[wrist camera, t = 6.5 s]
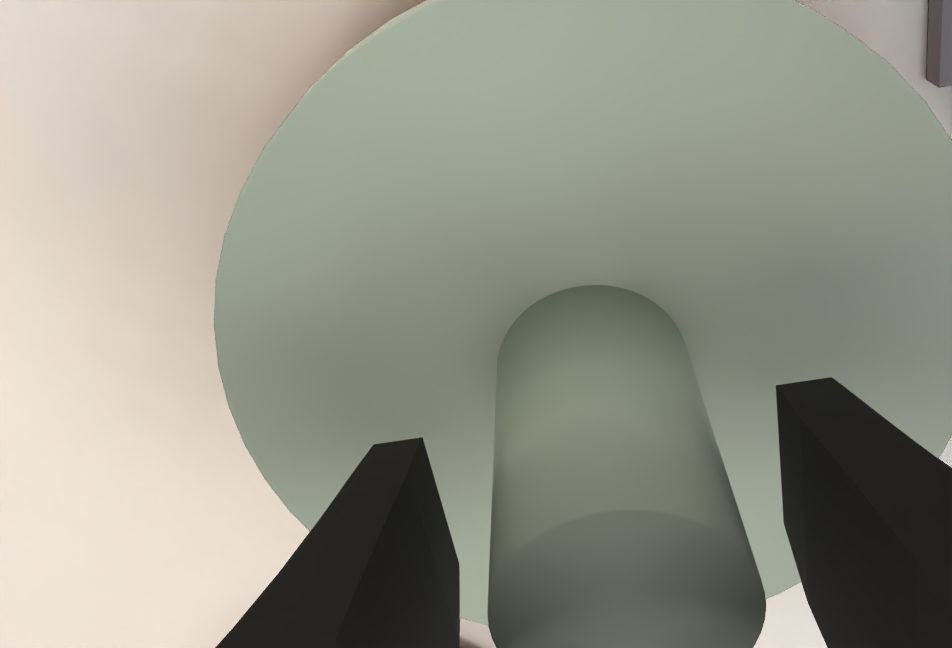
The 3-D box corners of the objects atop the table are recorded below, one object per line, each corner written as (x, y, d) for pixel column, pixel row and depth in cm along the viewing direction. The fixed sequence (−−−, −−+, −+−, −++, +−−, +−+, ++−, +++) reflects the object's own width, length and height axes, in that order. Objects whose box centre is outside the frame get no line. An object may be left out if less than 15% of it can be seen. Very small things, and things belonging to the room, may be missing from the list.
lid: (1013, -112, 10) (1431, -60, 5) (927, 574, 15) (1107, 903, 10) (130, 24, 11) (-139, 161, 7) (322, 620, 16) (245, 935, 11)
